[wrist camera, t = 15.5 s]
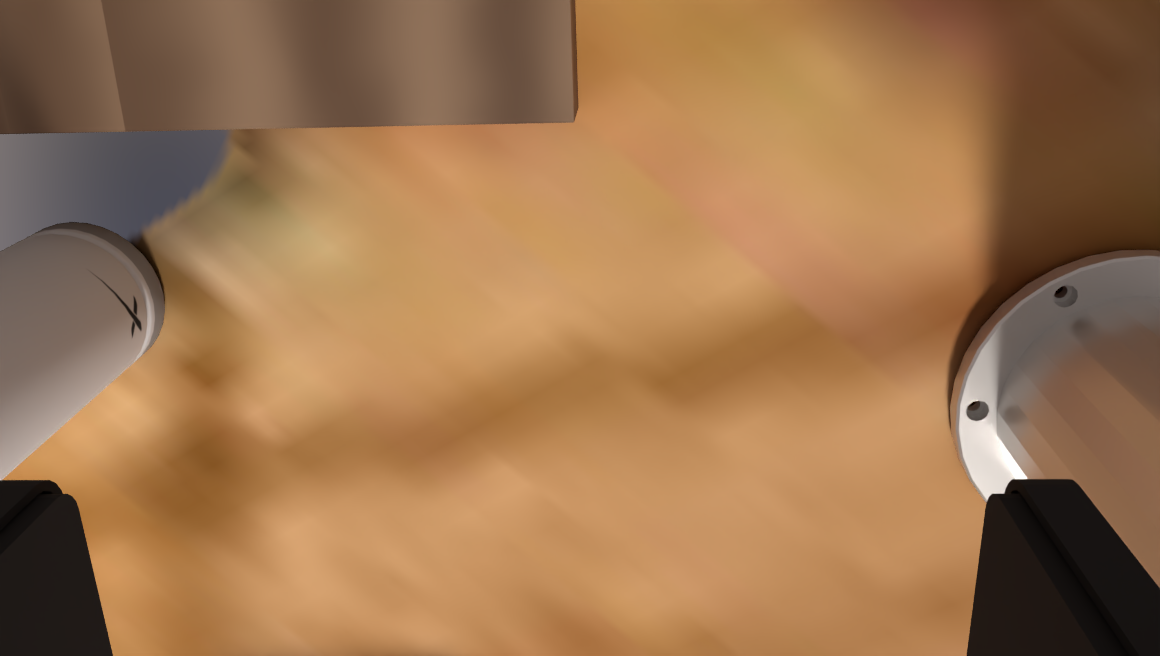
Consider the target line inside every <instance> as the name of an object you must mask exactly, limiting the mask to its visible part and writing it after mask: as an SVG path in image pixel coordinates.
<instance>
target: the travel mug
mask: <svg viewBox="0 0 1160 656" xmlns="http://www.w3.org/2000/svg"><path fill="white" fill-rule="evenodd" d="M164 312H165V306H164V295H163V292H162V288H161V285H160V282H159V279H158V277H157V276H156V274H155V272H154V270H153V268H152V266H151V265H150V264H149V262H148V261H147V260H146V258H145V257H144V256H143V254H142V253H141V252H140V251H139V250H138V249H136V248H135V247H134V246H133V245H132V244H131V243H130V242H128V241H127V240H125V239H124V238H122V237H121V236H119V235H118V234H116V233H114V232H112V231H110V230H107V229H105V228H103V227H100V226H96V225H92V224H88V223H77V222H69V223H61V224H56V225H53V226H50V227H47V228H44V229H42V230H41V231H38V232H36V233H35V234H33V235H31V236H29V237H27V238H26V239H24V240H22V241H19V242H17V243H16V244H14V245H12V246H10V247H8V248H6V249H4V250H2V251H0V480H2V479H3V478H5V477H6V476H7V475H8V474H9V473H10V472H11V471H12V470H14V469H15V468H16V467H17V466H18V465H19V464H20V463H21V462H23V461H24V460H25V459H26V458H27V457H28V456H29V455H30V454H32V453H33V452H34V451H35V450H36V449H37V448H38V447H39V446H41V445H42V444H43V443H44V442H45V441H46V440H47V439H48V438H50V437H51V436H52V435H53V434H54V433H55V432H56V431H57V430H59V429H60V428H61V427H62V426H63V425H64V424H65V423H66V422H68V421H69V420H70V419H71V418H72V417H73V416H74V415H75V414H77V413H78V412H79V411H80V410H81V409H82V408H83V407H84V406H86V405H87V404H88V403H89V402H90V401H91V400H92V399H94V398H95V397H96V396H97V395H98V394H99V393H100V392H101V391H103V390H104V389H105V388H106V387H107V386H108V385H109V384H110V383H112V382H113V381H114V380H115V379H116V378H117V377H118V376H119V375H121V374H122V373H123V372H124V371H125V370H126V369H127V368H128V367H130V366H131V365H132V364H133V363H134V362H135V361H136V360H137V359H139V358H140V357H141V356H142V355H143V354H144V353H145V352H146V351H147V350H148V349H149V348H150V347H151V346H152V345H153V343H154V342H155V340H156V339H157V337H158V336H159V333H160V330H161V328H162V325H163V320H164Z"/></svg>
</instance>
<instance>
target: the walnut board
mask: <svg viewBox="0 0 1160 656" xmlns="http://www.w3.org/2000/svg"><path fill="white" fill-rule="evenodd" d="M577 110H578V83H577V48H576V14H575V0H0V134H24V133H25V134H27V133H76V132H124V131H125V132H126V131H175V130H224V129H273V128H323V127H372V126H421V125H470V124H520V123H569V122H574V120H575V117H576V114H577Z"/></svg>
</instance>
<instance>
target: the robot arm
mask: <svg viewBox="0 0 1160 656" xmlns="http://www.w3.org/2000/svg"><path fill="white" fill-rule="evenodd" d="M1062 286H1063V289H1062V291H1061V292H1060V293H1059V294H1055V292H1056V290H1058V289H1059V288H1060V287H1062ZM975 401H976V403H975V404H974V405H972V406H969V405H970V404H971V403H972V402H975ZM950 417H951V434H952V438H953V442H954V445H955V449H956V452H957V456H958V459H959V461H960V463H961V464H962V466H963V468H964V470H965V472H966V474H967V476H968V478H969V480H970V481H971V482H972V484H973V485H974V487H975V488H976V490H977V491H978V492H979V494H980V495H981V497H982V498H983V499H984V501H985V502H986V503H987V504H986V509H985V517H984V525H983V533H982V540H981V548H980V556H979V564H978V572H977V579H976V587H975V595H974V603H973V611H972V618H971V626H970V634H969V642H968V650H967V656H1160V251H1157V250H1119V251H1114V252H1108V253H1103V254H1098V255H1092V256H1087V257H1085V258H1082V259H1079V260H1076V261H1074V262H1071V263H1068V264H1066V265H1063V266H1060V267H1057V268H1055V269H1053V270H1052V271H1050V272H1048V273H1046V274H1044V275H1043V276H1041V277H1039V278H1037V279H1036V280H1034V281H1032V282H1030V283H1028V284H1027V285H1026V286H1024V287H1023V288H1022V289H1021V290H1019V291H1018V292H1017V293H1016V294H1014V295H1013V296H1012V297H1011V298H1009V299H1008V300H1007V301H1006V302H1004V303H1003V304H1002V305H1001V306H1000V307H999V308H998V309H997V310H996V311H995V313H994V314H993V315H992V316H991V317H990V318H989V319H988V320H987V322H986V323H985V324H984V325H983V326H982V327H981V328H980V330H979V332H978V333H977V335H976V336H975V338H974V340H973V341H972V343H971V345H970V346H969V348H968V349H967V351H966V353H965V354H964V357H963V360H962V362H961V365H960V368H959V370H958V373H957V376H956V378H955V381H954V387H953V393H952V399H951V405H950ZM0 656H113V654H112V650H111V645H110V641H109V637H108V632H107V628H106V624H105V619H104V615H103V611H102V607H101V602H100V598H99V594H98V589H97V585H96V581H95V577H94V572H93V568H92V564H91V559H90V555H89V551H88V547H87V542H86V538H85V534H84V529H83V525H82V521H81V517H80V512H79V508H78V506H77V503H76V501H75V499H74V498H73V497H72V496H70V495H68V494H63V493H62V490H61V489H60V488H59V487H58V485H57V484H56V483H54V482H52V481H50V480H0Z"/></svg>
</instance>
